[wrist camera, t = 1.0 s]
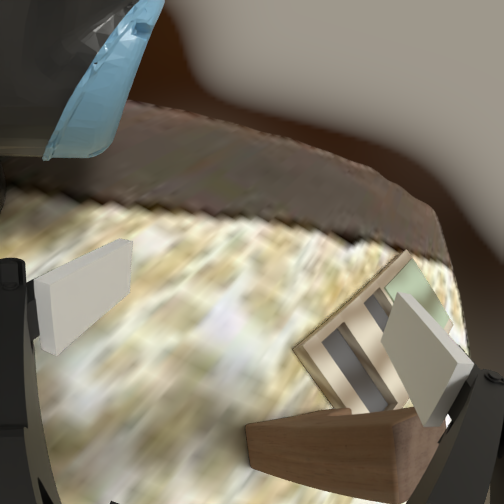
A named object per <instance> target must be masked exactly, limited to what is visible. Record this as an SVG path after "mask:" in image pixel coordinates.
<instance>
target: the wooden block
mask: <svg viewBox="0 0 504 504" xmlns="http://www.w3.org/2000/svg"><path fill="white" fill-rule="evenodd" d="M245 430H246V438H247V445H248V452H249V460H250V466H251V468H253V469H255V470H258V471H261V472H264V473H267V474H270V475H273V476H276V477H279V478H282V479H285V480H288V481H292V482H295V483H298V484H302V485H305V486H309V487H312V488H316V489H320V490H324V491H328V492H332V493H336V494H341V495H345V496H350V497H354V498H360V499H365V500H370V501H376V502H382V503H389V504H401V503H404V502H405V501H407V500H409V498H410V496H411V495H412V493H413V491H414V490H415V488H416V486H417V485H418V483H419V481H420V480H421V478H422V476H423V474H424V472H425V471H426V469H427V467H428V465H429V463H430V461H431V459H432V458H433V456H434V454H435V452H436V450H437V448H438V446H439V443H437V442H438V441H439V439H440V438H441V436H442V435H443V433H444V432H445V430H446V422H445V419H444V421H443V422H442V424H441V426H438V427H423V425H422V422H421V420H420V418H419V416H418V414H417V412H416V410H415V408H414V407H409V408H402V409H396V410H388V411H380V412H372V413H362V414H352V410H351V409H350V408H338V409H328V410H321V411H316V412H312V413H307V414H302V415H297V416H292V417H287V418H281V419H276V420H270V421H263V422H257V423H250V424H248V425H246V427H245Z"/></svg>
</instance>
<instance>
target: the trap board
mask: <svg viewBox="0 0 504 504" xmlns="http://www.w3.org/2000/svg"><path fill="white" fill-rule="evenodd" d="M397 292H402V293H407V294H411V295H412V296H413V297H414V298H415V299H416V300H417V302H418V303H419V304H420V305H421V306H422V307H423V308H424V309H425V310H426V311H427V312H428V313H429V314H430V315H431V316H432V317H433V318H434V319H435V321H436V322H437V323H438V324H439V325H440V326H441V327H442V328H443V329H444V330H445V331H446V332H447V334H449V332H450V330H451V328H452V326H453V323H452V321H451V319H450V318H449V316H448V314H447V312H446V311H445V309H444V307H443V306H442V304H441V302H440V301H439V299H438V297H437V296H436V294H435V292H434V291H433V289H432V288H431V286H430V284H429V283H428V281H427V280H426V278H425V276H424V275H423V273H422V272H421V270H420V269H419V267H418V265H417V264H416V262H415V261H414V259H413V258H412V256H411V255H410V253H409V252H408V250H407V249H406V250H405V251H403V252H402V253H400V254H399V255H397V256H396V257H395V258H394V259H393V260H392V261H391V262H390V263H389V264H388V265H387V266H386V267H385V268H384V269H383V270H382V271H381V272H380V273H379V274H378V275H377V276H376V277H375V278H373V279H372V280H371V281H370V282H369V283H368V284H367V285H366V286H365V287H364V288H363V289H362V290H361V291H359V292H358V293H357V294H356V295H355V296H354V297H353V298H352V299H351V300H350V301H348V302H347V303H346V304H345V305H344V306H343V307H342V308H341V309H339V310H338V311H337V312H336V313H335V314H334V315H333V316H331V317H330V318H329V319H328V320H327V321H326V322H325V323H323V324H322V325H321V326H320V327H319V328H318V329H316V330H315V331H314V332H313V333H312V334H310V335H309V336H308V337H307V338H306V339H304V340H303V341H302V342H301V343H300V344H298V345H297V346H296V347H295V348H293V351H294V352H295V354H296V355H297V357H298V358H299V359H300V361H301V362H302V364H303V365H304V366H305V368H306V369H307V371H308V372H309V374H310V375H311V376H312V378H313V379H314V381H315V382H316V383H317V385H318V386H319V388H320V389H321V390H322V392H323V393H324V395H325V396H326V397H327V399H328V400H329V402H330V403H331V404H332V406H333V407H334V409H338V408H350V409H351V410H352V414H362V413H372V412H380V411H388V410H396V409H402V408H403V406H404V405H405V404H406V402H407V401H408V399H409V398H410V397H409V395H408V393H407V391H406V389H405V387H404V385H403V383H402V381H401V379H400V377H399V375H398V374H397V372H396V370H395V368H394V366H393V364H392V362H391V360H390V358H389V356H388V354H387V352H386V350H385V349H384V347H383V345H382V343H381V338H382V335H383V333H384V330H385V327H386V324H387V321H388V318H389V315H390V312H391V309H392V306H393V303H394V300H395V297H396V294H397Z"/></svg>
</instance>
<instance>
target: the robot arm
mask: <svg viewBox="0 0 504 504" xmlns="http://www.w3.org/2000/svg"><path fill="white" fill-rule="evenodd" d="M164 2H165V0H0V156H24V157H42V159H43V161H49V160H50V159H51V158H90V157H94V156H97V155H99V154H101V153H102V152H104V151H105V150H106V149H107V148H108V147H109V146H110V144H111V143H112V141H113V139H114V137H115V134H116V131H117V128H118V125H119V122H120V119H121V116H122V112H123V109H124V106H125V103H126V100H127V97H128V94H129V91H130V88H131V86H132V83H133V80H134V77H135V74H136V72H137V69H138V66H139V64H140V61H141V58H142V55H143V53H144V50H145V47H146V45H147V42H148V40H149V37H150V35H151V32H152V30H153V28H154V25H155V23H156V21H157V19H158V16H159V15H160V12H161V10H162V8H163V5H164ZM5 193H6V179H5V175H4V171H3V168H2V164H1V161H0V212H1V210H2V207H3V203H4V199H5ZM132 247H133V241H129V240H125V239H117V240H115V241H113V242H111V243H108V244H106V245H104V246H102V247H100V248H98V249H95V250H93V251H91V252H89V253H87V254H85V255H82V256H80V257H78V258H76V259H74V260H72V261H70V262H68V263H66V264H64V265H62V266H59V267H57V268H55V269H53V270H51V271H49V272H47V273H45V274H43V275H41V276H39V277H37V278H35V279H33V280H31V281H29V282H27V283H26V270H25V262H24V261H23V260H22V259H18V258H3V259H0V504H62V503H61V501H60V498H59V495H58V492H57V488H56V485H55V481H54V477H53V473H52V469H51V465H50V461H49V456H48V451H47V447H46V442H45V436H44V431H43V425H42V419H41V412H40V405H39V397H38V388H37V378H36V366H35V350H34V343H33V340H34V339H35V338H37V337H38V336H39V337H40V344H41V349H42V350H44V351H46V352H49V353H51V354H53V355H55V356H58V355H59V354H60V353H61V352H62V351H63V350H64V349H65V348H67V347H68V346H69V345H70V344H71V343H72V342H73V341H74V340H76V339H77V338H78V337H79V336H80V335H81V334H82V333H84V332H85V331H86V330H87V329H88V328H89V327H90V326H92V325H93V324H94V323H95V322H96V321H97V320H98V319H100V318H101V317H102V316H103V315H104V314H105V313H107V312H108V311H109V310H110V309H111V308H112V307H114V306H115V305H116V304H117V303H118V302H120V301H121V300H122V299H123V298H124V297H125V296H127V295H128V294H129V293H130V278H131V261H132ZM381 343H382V345H383V347H384V349H385V350H386V352H387V354H388V356H389V358H390V360H391V362H392V364H393V366H394V368H395V370H396V372H397V374H398V375H399V377H400V379H401V381H402V383H403V385H404V387H405V389H406V391H407V393H408V395H409V397H410V400H411V402H412V404H413V406H414V408H415V410H416V412H417V414H418V416H419V418H420V420H421V422H422V425H423V427H438V426H441V424H442V422H443V421H444V419H445V418H446V416H447V414H449V416H450V418H451V419H452V421H451V422H450V424H449V425H448V427H447V429H446V430H445V432H444V433H443V435H442V436H441V438H440V439H439V441H438V442H437V443H439V446H438V448H437V450H436V452H435V454H434V456H433V458H432V459H431V461H430V463H429V465H428V467H427V469H426V471H425V472H424V474H423V476H422V478H421V480H420V481H419V483H418V485H417V486H416V488H415V490H414V491H413V493H412V495H411V496H410V498H409V500H408V501H407V503H406V504H484V502H485V499H486V496H487V492H488V489H489V485H490V504H504V378H503V377H502V376H501V375H500V374H498V373H497V372H494V371H491V370H486V369H483V370H480V369H479V368H478V367H477V365H476V364H475V363H474V362H473V361H472V359H471V358H469V356H468V355H467V354H466V353H465V351H464V350H463V349H462V348H461V347H460V346H459V345H458V344H456V342H455V341H454V340H453V339H452V338H451V337H450V336H449V335H448V334H447V332H446V331H445V330H444V329H443V328H442V327H441V326H440V325H439V324H438V323H437V322H436V321H435V319H434V318H433V317H432V316H431V315H430V314H429V313H428V312H427V311H426V310H425V309H424V308H423V307H422V306H421V305H420V304H419V303H418V302H417V300H416V299H415V298H414V297H413V296H412V295H411V294H407V293H402V292H397V294H396V297H395V300H394V303H393V306H392V309H391V312H390V315H389V318H388V321H387V324H386V327H385V330H384V333H383V335H382V338H381ZM110 504H118V503H116V502H113V501H111V502H110Z"/></svg>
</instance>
